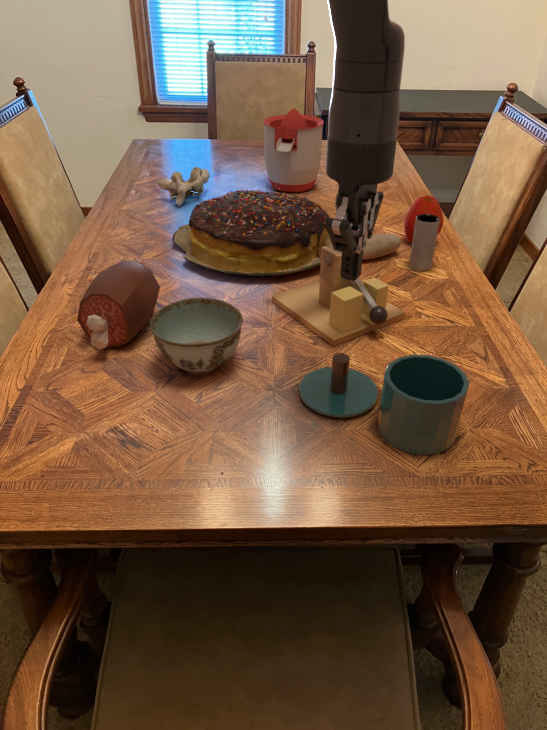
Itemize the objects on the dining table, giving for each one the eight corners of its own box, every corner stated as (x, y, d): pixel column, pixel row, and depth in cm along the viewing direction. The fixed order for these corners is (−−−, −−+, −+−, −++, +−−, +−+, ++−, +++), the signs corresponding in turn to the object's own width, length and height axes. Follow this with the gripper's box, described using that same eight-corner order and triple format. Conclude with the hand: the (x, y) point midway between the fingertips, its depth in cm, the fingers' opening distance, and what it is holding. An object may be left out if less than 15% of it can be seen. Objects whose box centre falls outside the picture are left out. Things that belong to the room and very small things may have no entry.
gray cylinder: (434, 264, 118) (443, 216, 112) (426, 273, 114) (435, 224, 108) (413, 259, 120) (420, 211, 114) (405, 267, 116) (412, 219, 110)
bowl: (247, 340, 94) (246, 298, 90) (240, 391, 83) (238, 345, 79) (165, 339, 95) (159, 296, 90) (147, 389, 84) (140, 343, 79)
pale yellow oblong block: (360, 325, 96) (363, 294, 92) (341, 332, 94) (344, 300, 91) (347, 317, 98) (350, 285, 95) (328, 323, 96) (331, 292, 93)
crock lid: (386, 384, 85) (392, 347, 81) (362, 430, 77) (367, 391, 73) (316, 365, 89) (318, 328, 85) (286, 406, 81) (287, 368, 77)
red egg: (433, 253, 122) (441, 204, 116) (396, 245, 126) (402, 197, 119) (443, 239, 128) (452, 192, 122) (408, 232, 131) (414, 185, 125)
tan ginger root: (162, 205, 149) (154, 173, 145) (202, 189, 156) (196, 159, 152) (182, 208, 143) (174, 175, 139) (224, 191, 151) (217, 160, 146)
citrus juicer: (254, 194, 152) (252, 114, 140) (273, 175, 165) (273, 100, 154) (311, 200, 148) (314, 118, 137) (326, 180, 162) (330, 104, 150)
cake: (301, 207, 145) (301, 167, 140) (377, 263, 117) (381, 216, 111) (159, 232, 134) (153, 189, 128) (205, 299, 106) (200, 249, 100)
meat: (135, 365, 88) (125, 308, 82) (65, 358, 90) (51, 301, 84) (175, 303, 104) (169, 251, 99) (115, 297, 106) (106, 246, 100)
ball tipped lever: (386, 324, 95) (394, 315, 92) (372, 330, 94) (380, 320, 91) (339, 255, 99) (346, 244, 97) (326, 259, 98) (332, 248, 95)
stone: (338, 245, 119) (382, 218, 122) (349, 272, 121) (392, 245, 124) (353, 246, 114) (399, 218, 117) (364, 274, 116) (408, 246, 119)
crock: (462, 416, 79) (475, 366, 74) (446, 464, 71) (459, 412, 66) (390, 396, 82) (398, 347, 77) (368, 440, 75) (374, 389, 70)
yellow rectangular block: (384, 316, 98) (388, 285, 95) (373, 320, 97) (377, 289, 94) (371, 308, 101) (374, 277, 97) (360, 312, 100) (363, 281, 96)
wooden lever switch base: (404, 318, 100) (414, 256, 93) (333, 346, 93) (338, 281, 86) (339, 279, 112) (343, 221, 105) (271, 301, 105) (271, 241, 98)
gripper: (374, 151, 56) (359, 306, 66) (414, 124, 66) (395, 263, 76) (305, 142, 59) (300, 292, 69) (352, 117, 69) (343, 252, 78)
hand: (350, 277), depth 72 cm, fingers closed
